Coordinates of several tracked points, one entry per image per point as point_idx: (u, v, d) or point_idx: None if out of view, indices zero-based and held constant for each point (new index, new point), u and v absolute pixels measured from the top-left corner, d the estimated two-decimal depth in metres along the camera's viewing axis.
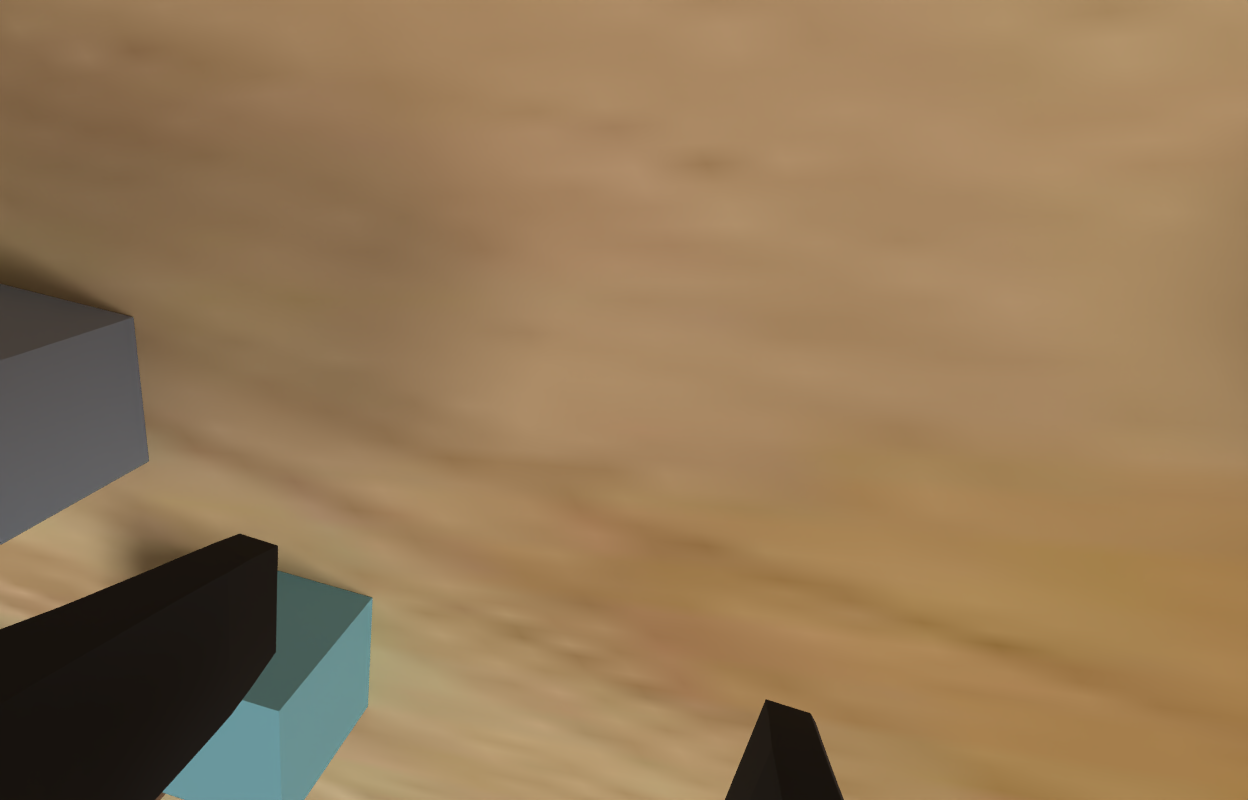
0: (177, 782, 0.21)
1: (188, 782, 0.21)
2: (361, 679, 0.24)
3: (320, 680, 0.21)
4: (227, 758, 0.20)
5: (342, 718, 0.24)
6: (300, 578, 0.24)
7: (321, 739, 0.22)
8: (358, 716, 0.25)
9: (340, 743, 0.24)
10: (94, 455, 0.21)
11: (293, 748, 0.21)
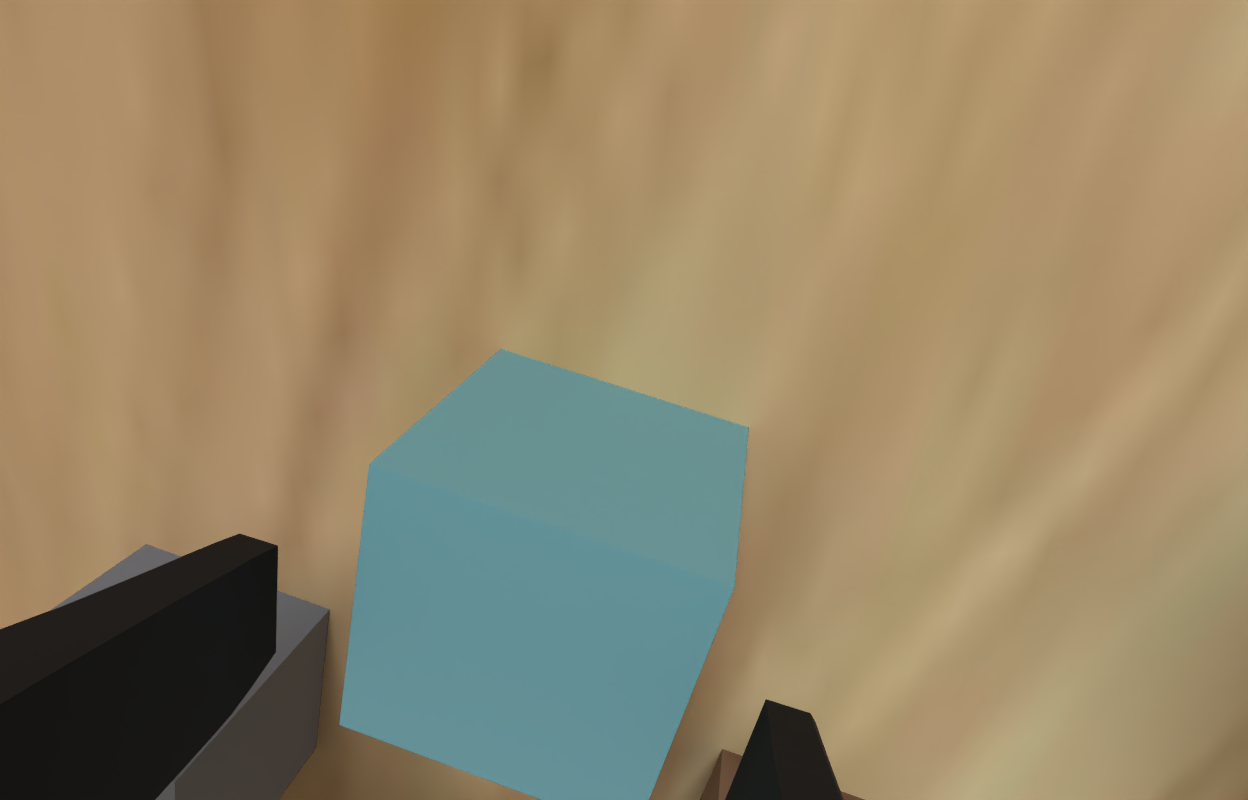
0: (615, 750, 0.10)
1: (612, 729, 0.10)
2: (650, 409, 0.13)
3: (482, 423, 0.11)
4: (524, 621, 0.10)
5: (674, 446, 0.12)
6: None
7: (640, 473, 0.11)
8: (737, 438, 0.13)
9: (737, 469, 0.12)
10: None
11: (534, 492, 0.10)
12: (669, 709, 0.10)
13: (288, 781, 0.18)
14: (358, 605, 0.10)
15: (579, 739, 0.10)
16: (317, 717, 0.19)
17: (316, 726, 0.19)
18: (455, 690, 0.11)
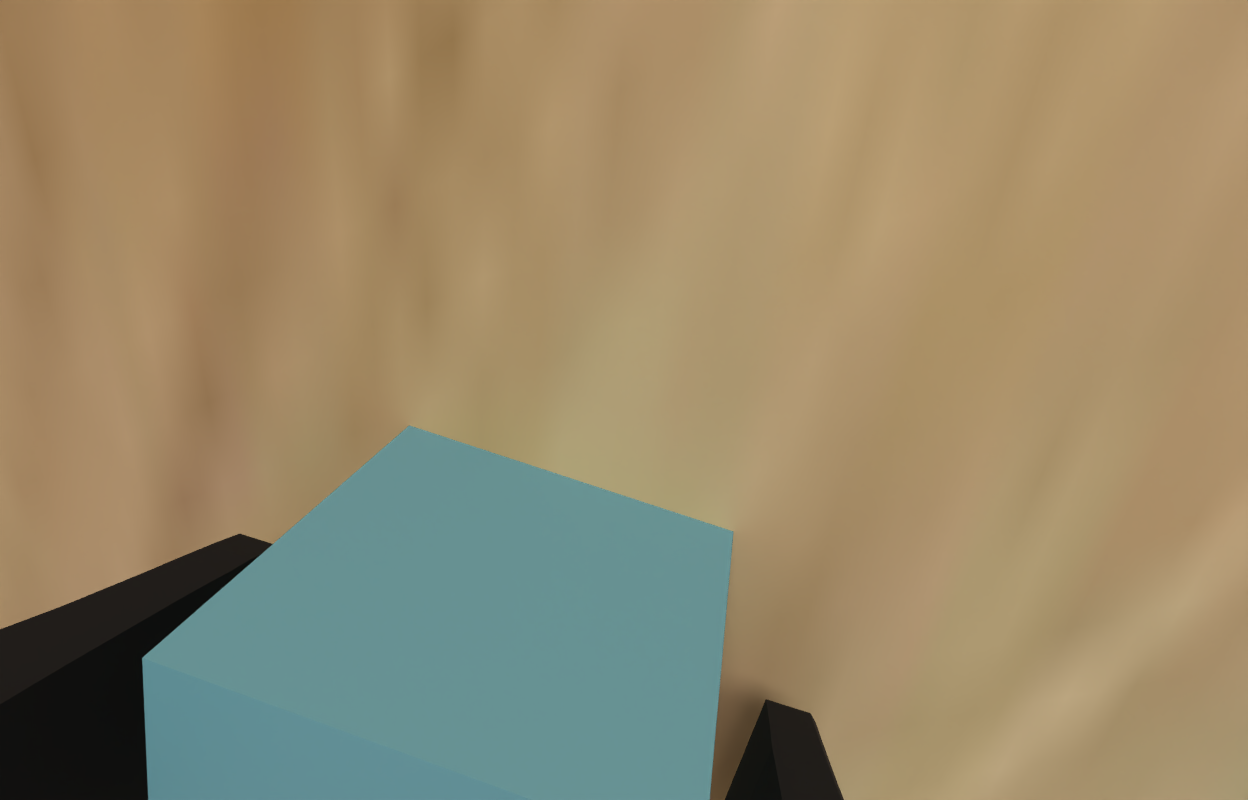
0: None
1: None
2: (602, 510, 0.10)
3: (350, 558, 0.08)
4: None
5: (629, 574, 0.09)
6: None
7: (576, 629, 0.08)
8: (717, 552, 0.10)
9: (715, 607, 0.09)
10: None
11: (405, 689, 0.06)
12: None
13: None
14: None
15: None
16: None
17: None
18: None
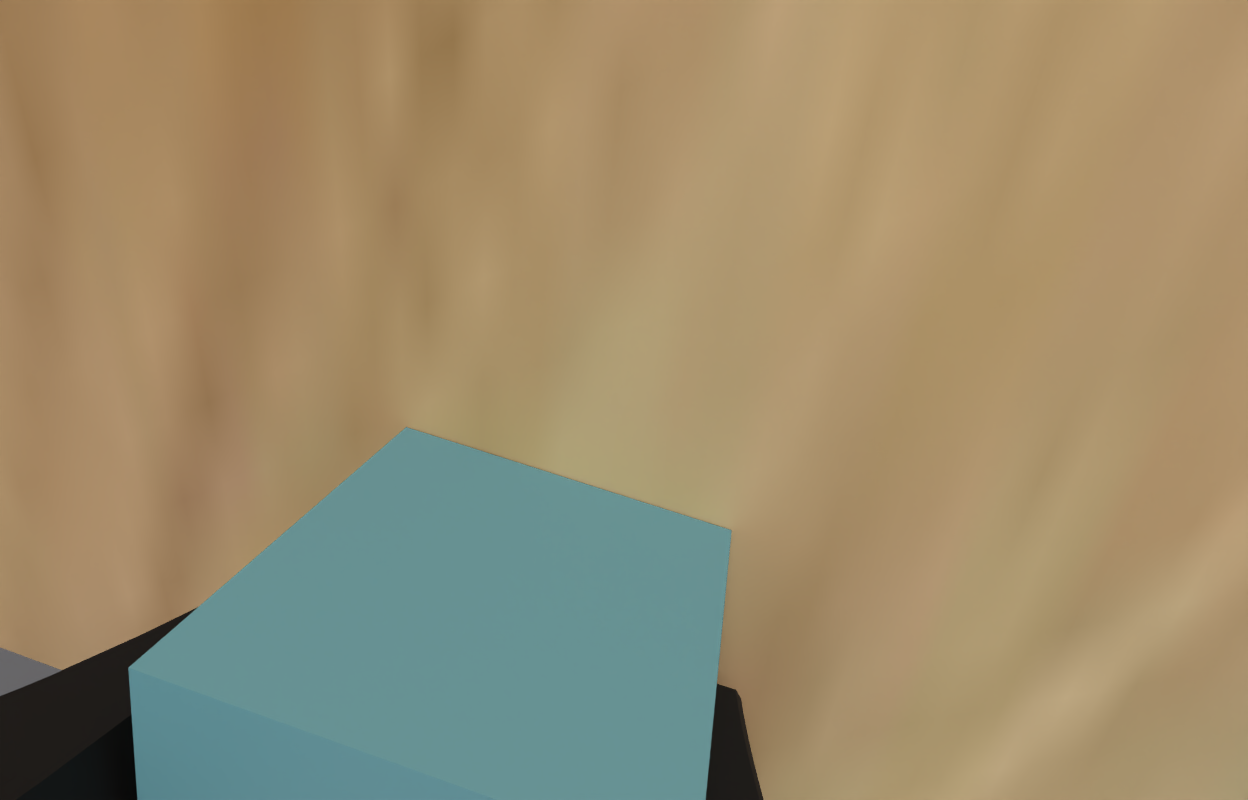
0: None
1: None
2: (598, 513, 0.10)
3: (342, 564, 0.08)
4: None
5: (625, 577, 0.09)
6: None
7: (570, 636, 0.08)
8: (714, 554, 0.09)
9: (712, 610, 0.08)
10: None
11: (395, 697, 0.06)
12: None
13: None
14: None
15: None
16: None
17: None
18: None
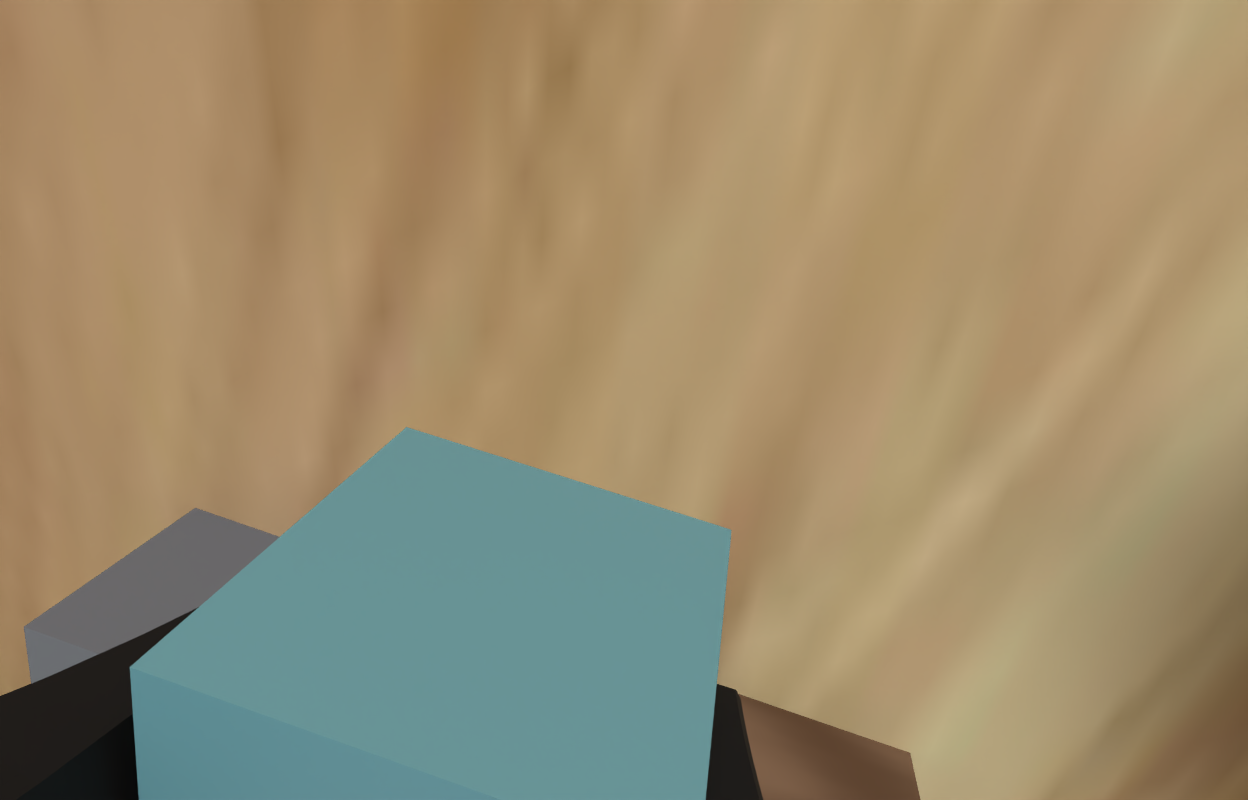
0: None
1: None
2: (598, 513, 0.10)
3: (343, 563, 0.08)
4: None
5: (625, 577, 0.09)
6: None
7: (570, 635, 0.08)
8: (714, 554, 0.09)
9: (712, 610, 0.08)
10: None
11: (395, 697, 0.06)
12: None
13: None
14: None
15: None
16: None
17: None
18: None
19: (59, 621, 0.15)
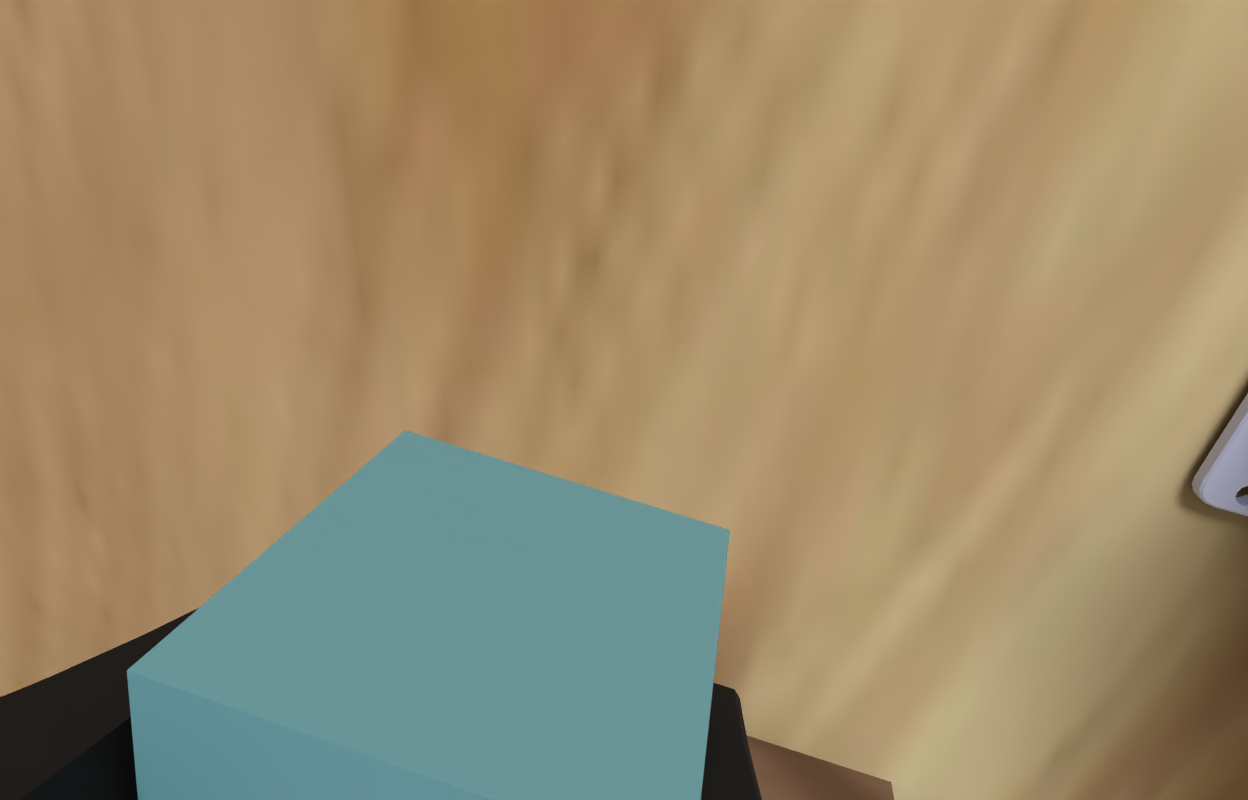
0: None
1: None
2: (596, 514, 0.10)
3: (340, 566, 0.08)
4: None
5: (623, 578, 0.09)
6: None
7: (566, 636, 0.08)
8: (712, 554, 0.09)
9: (709, 610, 0.08)
10: None
11: (391, 699, 0.06)
12: None
13: None
14: None
15: None
16: None
17: None
18: None
19: None
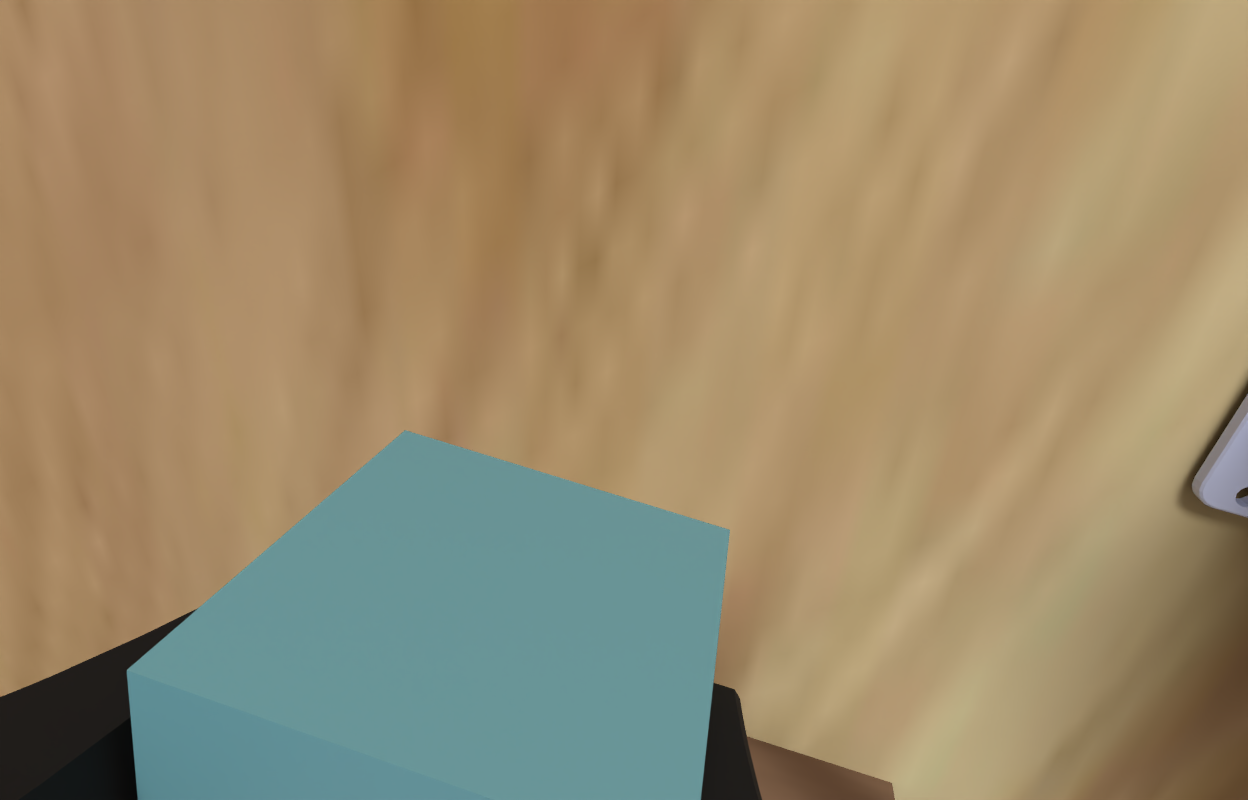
0: None
1: None
2: (596, 514, 0.10)
3: (340, 567, 0.08)
4: None
5: (622, 577, 0.09)
6: None
7: (566, 635, 0.08)
8: (712, 554, 0.09)
9: (709, 610, 0.08)
10: None
11: (391, 698, 0.06)
12: None
13: None
14: None
15: None
16: None
17: None
18: None
19: None
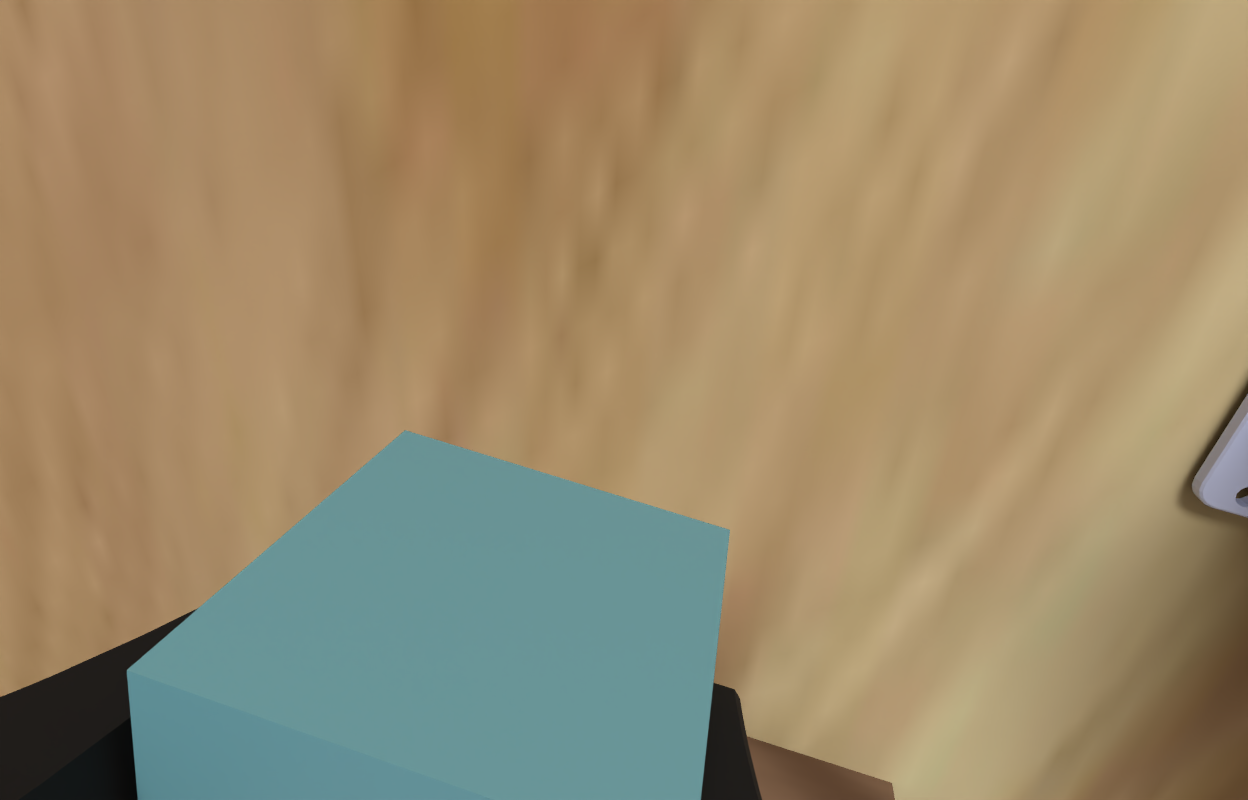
0: None
1: None
2: (596, 514, 0.10)
3: (340, 567, 0.08)
4: None
5: (623, 577, 0.09)
6: None
7: (566, 635, 0.08)
8: (712, 554, 0.09)
9: (709, 610, 0.08)
10: None
11: (391, 696, 0.06)
12: None
13: None
14: None
15: None
16: None
17: None
18: None
19: None
